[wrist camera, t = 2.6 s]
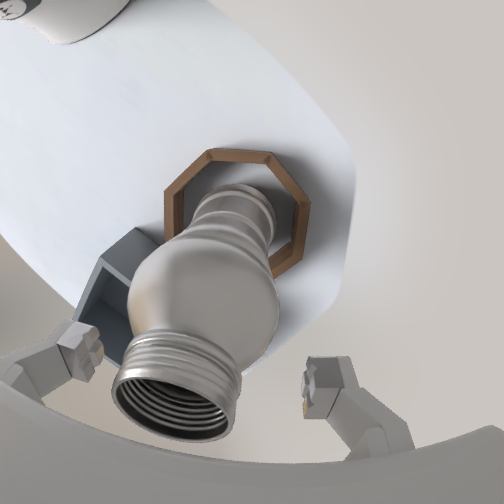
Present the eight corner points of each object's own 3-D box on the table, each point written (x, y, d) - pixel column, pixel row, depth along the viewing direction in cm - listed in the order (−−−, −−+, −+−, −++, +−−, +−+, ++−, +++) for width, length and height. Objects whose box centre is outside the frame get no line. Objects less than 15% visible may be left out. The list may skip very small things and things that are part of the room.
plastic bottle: (273, 249, 26) (279, 465, 8) (202, 246, 26) (107, 438, 8) (277, 180, 24) (309, 342, 5) (199, 178, 24) (36, 310, 6)
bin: (97, 295, 30) (68, 330, 23) (135, 227, 26) (99, 256, 20) (190, 360, 33) (177, 403, 26) (245, 309, 29) (239, 355, 23)
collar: (176, 147, 23) (164, 149, 20) (310, 156, 23) (316, 159, 20) (176, 266, 27) (167, 281, 25) (293, 277, 27) (296, 293, 25)
